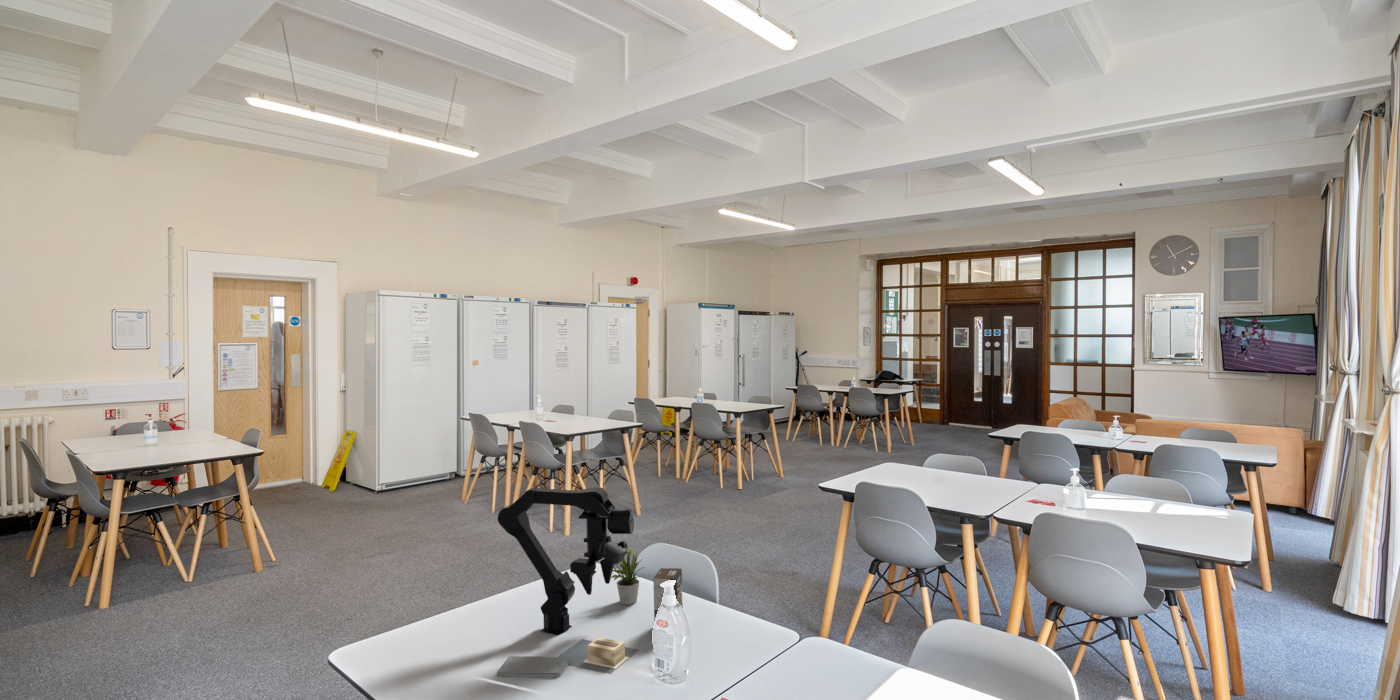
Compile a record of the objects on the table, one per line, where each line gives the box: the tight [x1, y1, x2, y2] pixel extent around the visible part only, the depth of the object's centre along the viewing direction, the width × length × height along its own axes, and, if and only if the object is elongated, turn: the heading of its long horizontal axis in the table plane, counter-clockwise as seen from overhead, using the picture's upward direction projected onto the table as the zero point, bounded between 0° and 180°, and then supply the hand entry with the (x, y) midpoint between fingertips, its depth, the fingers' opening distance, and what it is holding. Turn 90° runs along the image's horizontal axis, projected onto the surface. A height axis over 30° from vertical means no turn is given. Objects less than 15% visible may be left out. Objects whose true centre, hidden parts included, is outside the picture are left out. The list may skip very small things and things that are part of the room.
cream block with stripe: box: [587, 636, 626, 667], centre depth 172 cm, size 8×5×4 cm, turn 65°
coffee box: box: [653, 567, 684, 621], centre depth 190 cm, size 9×6×16 cm
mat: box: [556, 638, 640, 675], centre depth 174 cm, size 18×14×1 cm
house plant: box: [611, 547, 647, 606], centre depth 213 cm, size 14×14×16 cm
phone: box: [496, 655, 569, 679], centre depth 168 cm, size 8×16×1 cm, turn 83°
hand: (598, 588), depth 190 cm, fingers open, 9 cm apart
